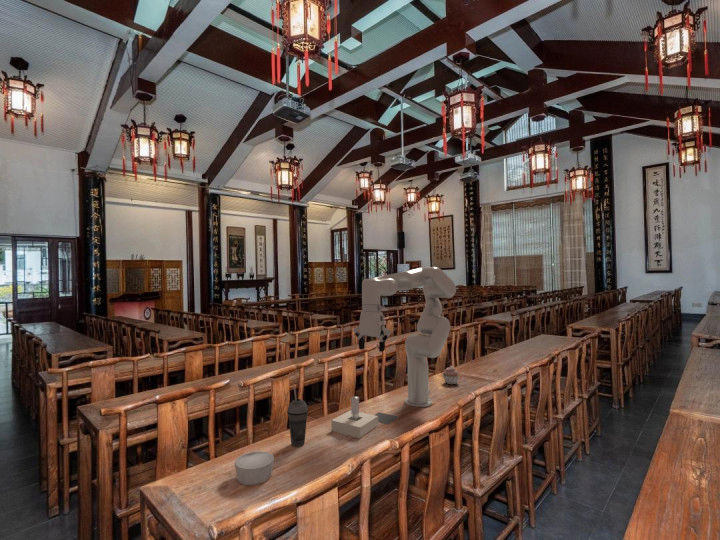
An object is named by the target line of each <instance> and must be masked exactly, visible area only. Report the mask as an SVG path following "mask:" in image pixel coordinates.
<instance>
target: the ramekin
mask: <svg viewBox="0 0 720 540" xmlns="http://www.w3.org/2000/svg"><path fill="white" fill-rule="evenodd" d="M274 461H275V457H274V455H273V454H272V453H271V452H268V451H261V450H260V451H259V450H258V451H251V452H247V453H244V454H241V455H240V456H238V457H237V458H236V459H235V461H234V467H235V473H236V478H237V481H238V482H239V483H240V484H242V485H245V486H256V484H257V485H260V484H259V483H261V484H262V482H263V483H265V482H266V481H268V480H269V478H270V477H271V476H272V472H273V465H274ZM267 479H268V480H267ZM264 481H265V482H264Z"/></svg>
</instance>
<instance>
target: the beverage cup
mask: <svg viewBox="0 0 720 540" xmlns="http://www.w3.org/2000/svg"><path fill="white" fill-rule="evenodd" d="M293 391H294V393H293V394H294V399H293V400H292V401H291V402H290V403H289V405H288V407H287V416H288V423H289V435H290V443H291V447H293V448H301V447H303V446H305V442H306V432H307V431H306V430H307V419H308V415H309V414H308V412H309V408H308V405H307V403H306V402H305V400H303V399H302V398H297V392H296V386H293Z"/></svg>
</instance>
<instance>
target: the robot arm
mask: <svg viewBox="0 0 720 540" xmlns="http://www.w3.org/2000/svg"><path fill="white" fill-rule="evenodd" d="M418 287H422V291H423V294H424V295H423V296H424V299H425V306H424V308H423V311H422V313H421V315H420V318H419V319H418V321H417V324H416V330H417V332H418V333H414V334H413V333H412V334H410V335H409V336H407V337H406V339H405V341H404V347H405V353H406V358H407V397H406V398H404V404H405V405H408V406H411V407H417V408H426V407H427V408H428V407H430V406H432V405H433V400H432V399H431V398H429V397H430V396H429V395H430V394H431V389H430V390H429V388H430V387H429V386H430V385H429V362H428V359H427V358H430V359H435V358H438V357H439V356H440V355H441V353H442V351H443V349H444V347H445V345H446V342H447V339H448V338H449V334H450V332H451V322H450V320H449V319H448V318H447V317H445V316H443V315H442V313H443V305H442V304H441V301H440V299H439V298H441V299H450V298H453V297H454V296H455V295H456V292H457V287H456V283H455V282H454V280H453V279H451V277H449V276H448V274H447V273H445V271H443V270H442V269H441V268H440V267H438V266H437V267H436V266H422V267H417V268H413V269H409V270H405V271H401V272H395V273H390V274H385V275H380V276H376V277H373V278H365V279H362V282H361V309H362V310H361V311H360V317H359V325H358V326H356V327H354V328H353V333H354V335H355V336H356V338H357V340H358V349H359V350H364V349H365V347H366V346H365V337H373V338H378V340H379V342H378V345H379V346H378V347H379V348H378V351H379V352H380V353H381V352H385V349H386V341H387V340H388V339H389V338H390V335H391V332H392V331H391V330H390V329H388V328H387V327H385V318H384V314H383V311H381V310H383V309H384V307H383V305H381V296H384V297H391V296H394V295H395V294H396V293H397V292H399V291H402V292H403V291H410V290H412V289H416V288H418Z"/></svg>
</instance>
